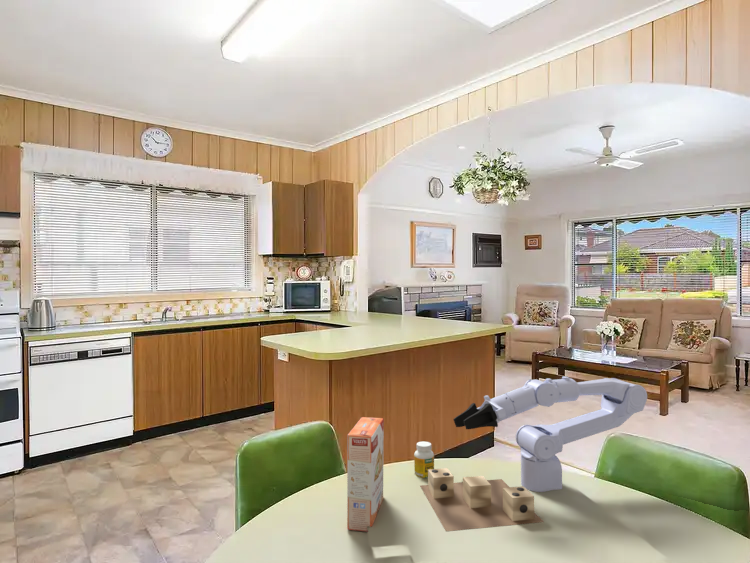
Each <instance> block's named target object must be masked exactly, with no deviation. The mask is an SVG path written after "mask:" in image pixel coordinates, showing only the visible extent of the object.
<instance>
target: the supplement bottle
mask: <svg viewBox="0 0 750 563" xmlns="http://www.w3.org/2000/svg"><path fill="white" fill-rule="evenodd" d="M413 460H414V461H413V463H414V465H413V466H414V475H415V476H416V477H418V478H422V479H424V478H426V479H428V469H435V454H434V452H433V450H432V443H431V442H430V441H418V442H416V450H415V452H414V454H413Z"/></svg>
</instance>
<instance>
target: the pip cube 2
mask: <svg viewBox="0 0 750 563" xmlns="http://www.w3.org/2000/svg"><path fill="white" fill-rule="evenodd" d="M503 510H504V512H505V513H506V514H507V515H508V516H509V517H510V518H511V520H512V521H519V520H529V519H534V512H535V495H533V493H531V492H530V490H528V489H526V488H525V487H524V486H522V485H521V486H511V487H510V486H509V488H503Z"/></svg>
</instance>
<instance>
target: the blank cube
mask: <svg viewBox="0 0 750 563" xmlns="http://www.w3.org/2000/svg"><path fill="white" fill-rule="evenodd" d="M487 480H488V479H486V477H485V476H484V475H476V476H465V477H464V476H463V477H462V482H463V499H464V500H465V501H466V503H467V504H468V506H469V507H470V508H479V507H490V506H491V484H490V483H489V482H488V481H487Z"/></svg>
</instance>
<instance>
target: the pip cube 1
mask: <svg viewBox="0 0 750 563" xmlns="http://www.w3.org/2000/svg"><path fill="white" fill-rule="evenodd" d="M454 478H455V477H454V475H453V474H452V473H451V470H449V468H448V467H443V468H434V469H428V478H427V485H428V490H429V492H430V493H431V495H432V497H433V498H434V499H435V498H447V497H454V483H455V481H454V480H455V479H454Z"/></svg>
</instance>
